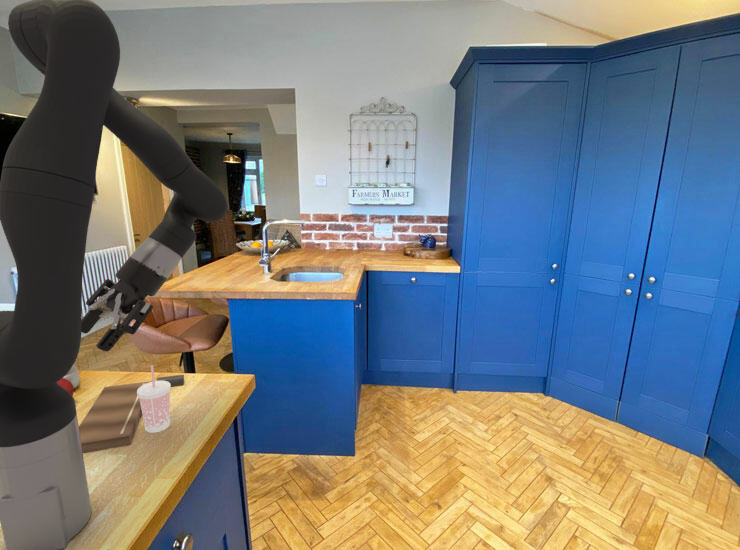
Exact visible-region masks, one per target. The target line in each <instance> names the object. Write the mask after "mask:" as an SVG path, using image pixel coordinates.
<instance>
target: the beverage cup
mask: <svg viewBox="0 0 740 550" xmlns="http://www.w3.org/2000/svg"><path fill="white" fill-rule="evenodd" d="M150 373H151V375H150V376H151V381H152V382H149V381H148V382H149V383H146V384H144V385H142V386H141V387H139V388H138V389H137V394H138V395H137V396H138V397H139V399H140V404H141V410H142V420H143V424H144V429H145V431H146V432H147V433H159V432H162V431H163V430H166V429H167V428H168V427H169V426H170V425H171V415H170V414H171V407H170V404H171V403H170V397H171V396H170V394H171V393H170V392H171V388H172V387H171V383H169V382H168V381H156V379H155V370H154V365H153V364H152V365H150Z"/></svg>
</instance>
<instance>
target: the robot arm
mask: <svg viewBox="0 0 740 550" xmlns="http://www.w3.org/2000/svg"><path fill="white" fill-rule="evenodd" d="M7 21H8V22H7V24H8V31H9V34H10V36H11V38H12V42H14V45H15V46H16V48H17V49H18V51H19V52H20V53H21V54H22V55H23V56H24V58H25V59H26V60H27V61H28V62H29V63H30V64H31V65H32V67H33V66H34V68H36V69H37V70H38V71H39V73H41V74H42V75H43V76H44V80H43V85H42V88H41V91H40V94H39V96H38V99H37V101H36V103H35V104H34V106H33V107H32V109H31V111H30V112H29V114H28V115H27V117H26V118H25V119H24V121H23V123H22V124H21V126H20V127H19V129H18V131H17V132H16V134H15V135H14V137H13V138H12V140H11V142H10V144H9V146H8V148H7V150H6V153H5V156H4V158H3V162H2V163H3V164H2V169H1V175H0V224H1V226H2V230H3V234H4V236H5V239H6V241H7V243H8V246H9V248H10V251H11V253H12V257H13V260H14V262H15V267H16V272H17V274H16V275H17V288H16V289H17V290H16V298H15V301H14V309H13V310H0V529H1V531H2V535H3V540H4V544H5V545H4V546H5V550H62V549H65V548H66V547H67V545H68V543H69V541H71V540H72V539H73V538H74V537H75V536H76V535H78V534H79V533H80V531H82V530H83V529H84V528H85V526H86V525H88V524H87V523H88V522H89V520H90V518H91V516H92V504H91V498H90V497H91V496H90V493H89V492H90V491H89V485H88V480H87V473H86V468H85V467H86V466H85V460H84V459H85V458H84V454H83V452H82V446H81V439H80V433H79V426H80V424H79V420H78V414H77V413H78V412H77V405H76V401H75V399H74V396H73V395H71V394H70V393H69V392H68V391H67V390H65V389H64V388H62V387H61V386H60V385H59V384H58V383H57V382H58V381H59V380H61V379H62V378H63V377H64V376H65V375H66V374H67V373H68V372H69V371H70V369H71V368H72V366H73V364H74V363H75V364H76V361H77V359H78V355H79V352H80V349H81V342H82V341H81V340H82V334H88V333H89V332H91V330H92V329H93V328H94V326H95V325H96V324H97V323H98V322H99V320H100V319H101V316H104V315H105V314H107V313H110V312H112V317H113V321H112V325H111V328H110V327H109V328H108V330H107V331H106V332H105V333H104V334H103V336H102V337H101V339H100V340H99V341H97V343H96V346H95V348H98V350H101V351H104V352H109V351H111V349H112V348H113V347H114V346H115V344H117V342H118V341H119V340H120V339H121V337H122V336H123V335H126V334H129V335H135V334H136V333H137V331H138V330H139V328H140V327H141V325H142V324H143V323H144V321H145V320H146V319H147V317H148V316H149V314H150V313H151V312H152V310H153V308H154V305H152V304H151V303H149V302H147V301H145V300H146V298H147V297H148V296H149V297H154V296H156V294H157V293H158V292H159V290H160V289H161V288H162V287H163V285H164V284H165V282H166V281H167V280H168V279H169V277H170V276H171V275H172V273H174V271H175V270H176V269H177V266H178V265H179V263H180V262H181V260H183V259H182V258H183V257H184V256H185V254H186V253H187V252H188V251H189V250H190V248H191V247H192V246H193V245H194V243H195V241H196V239H197V234H196V231H195V230H194V229H193V228H192V227H193V225H194V224H195V223H194V222H195V221H196V220H197V219H198V220H201V221H204V222H207V223H217V222H219V221H221V220H222V219H224V217H226V215H227V212H228V205H229V204H228V200H227V198H226V196H225V194H224V192H223V191H222V190H221V188H220V187H219V186H218V185H217V184H216V183H215V182H214V181H213V180H212V179H211V178H210V177H208V176H207V175H206V174H205V173H204V172H203V171H202V170H200V168H198V166H196V165H195V164H194V162H193V161H192V160H191V158H190V156H189V155H188V154H187V153H186V151H185V150H184V149H183V148H182V146H181V145H180V144H179V142H178V141H177V140H176V139H175V138H174V136H172V134H171V133H169V131H168V130H167V129H166V128H165V127H163V126H162V125H161V124H159V123H158V122H157V121H156V120H154V119H153V118H151V117H150V116H149V115H147V114H146V113H145V112H143V111H142V110H141V109H139V108H138V107H136V106H135V105H134V104H132V103H131V102H130V101H128V100H127V99H126V98H125V97H124V96H123V95H122V94H120V93H119V92H118V90H116V88H114V85H115V81H116V77H117V75H118V72H119V71H118V70H119V66H120V60H121V47H120V40H119V36H118V32H117V30H116V28H115V26H114V24H113V22H112V20H111V18H110V17H109V16H108V14H107V13H106V12H105V11H104V9H102V8H101V7H100V6H99V5H98V4H97V3H95V2H94V1H93V0H29V1H26V2H23V3H20V4H18V5H16V6H14V7H13V8H12V10H11V11H10V13H9V15H8V20H7ZM104 127H105V128H106V129H107V130H109V132H111V134H113V135H114V136H115V137H116V138H117V139H119V141H121V142H122V143H123V144H124V145H125V147H127V148H128V149H129V150H130V151H131V152H132V154H134V155H135V156H136V158H137V159H138V160H139V161H140V162H141V163H142V164H143V165H144V166H145V168H147V169H148V171H150V173H152V175H153V176H154V177H155V178H156V180H158V181H159V182H160V183H161V184H162V185H163V186H164V187H166V188H167V189H169V190H171V191H173V192H175V193H174V195H173V197H172V198H171V200H170V202H169V203H168V204H169V205H168V207H167V208H166V211H165V213H164V215H163V218H162V220H161V222H160V223H159V224H157V226H156V227H155V228H154V230H153V231H152V232H151V233H150V235H149V236H148V237H147V238H146V239H145V240H144V241H143V242H142V243H140V244H139V245H138V246H137V248H136V249H135V250H134V251H133V252H132V254H131V255H130V256H129V257H128V259H127V260H126V261H125V262H124V263H123V265H122V266H121V267H120V268H119V269H117V270H118V271H116V272H115V278H117V279H118V281H117V282H116V281H113V280H111V279H110V278H107V279H105V280H104V282H102V284H101V285H100V286H98V288H97V289H96V290H95V292H94V293H93V294H92V295H91V296H90V297H89V298H88V299H87V300H86V301H85V305H86V306H88V307H87V313H86V314H85V315H84V316H83V315H82V313H83V312H82V311H83V309H82V308H83V307H82V306H83V304H82V303H83V302H82V301H83V299H82V298H83V275H84V267H85V258H86V257H85V256H86V249H87V238H88V231H89V225H90V219H91V216H92V215H91V214H92V209H93V208H92V207H93V203H94V196H95V189H96V177H97V167H98V161H99V156H100V155H99V154H100V151H101V150H100V149H101V144H102V143H101V142H102V135H103V130H104ZM121 321H122V322H121ZM132 322H134V323H133V324H132ZM131 324H132V325H131Z"/></svg>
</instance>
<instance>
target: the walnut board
mask: <svg viewBox="0 0 740 550" xmlns="http://www.w3.org/2000/svg"><path fill="white" fill-rule="evenodd" d="M155 381H168V382H169V383H171V388H172V387H181V386H184V383H185V376H184V374H177V375H170V376H169V375H168V376H161V377H157V378H156V379H155ZM149 382H152V380H151V381H150V380H149V381H144V382H143V381H142V382H135V383H125V384H119V385H116V384H115V385H110V386H109V385H108V386H104V387H103V389H102V390H101V392H100V394H99V395H98V397H97V398H96V400H95V401H94V403H93V404H92V406H91V407H90V409H89V411H88V412H87V414H86V415H85V417H84V418H83V420H82V421H81V423H80V424H79V433H80V439H81V446H82V452H83V453H90V452H95V451H102V450H107V449H113V448H119V447H123V446H130V445H131V444H132V440H133V439H134V436H135V433H136V431H137V427H138V426H139V423H140V420H141V418H142V417H143V415H142V410H141V404H140V399H139V397H138V396H137V395H138V394H137V389H138V388H139V387H141V386H142V385H144V384H146V383H149Z"/></svg>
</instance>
